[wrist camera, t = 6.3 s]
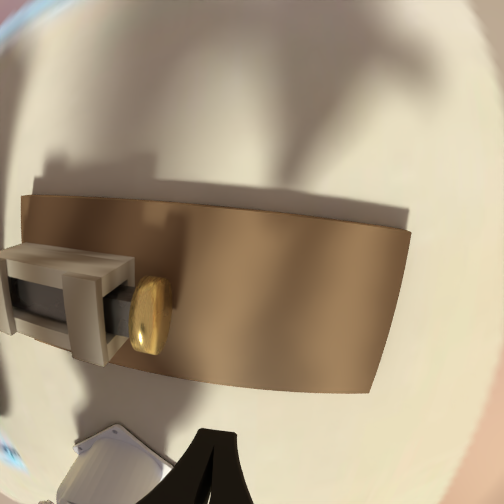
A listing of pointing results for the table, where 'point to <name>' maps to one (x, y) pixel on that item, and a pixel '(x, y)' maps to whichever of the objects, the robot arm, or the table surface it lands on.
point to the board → (215, 289)
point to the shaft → (110, 309)
